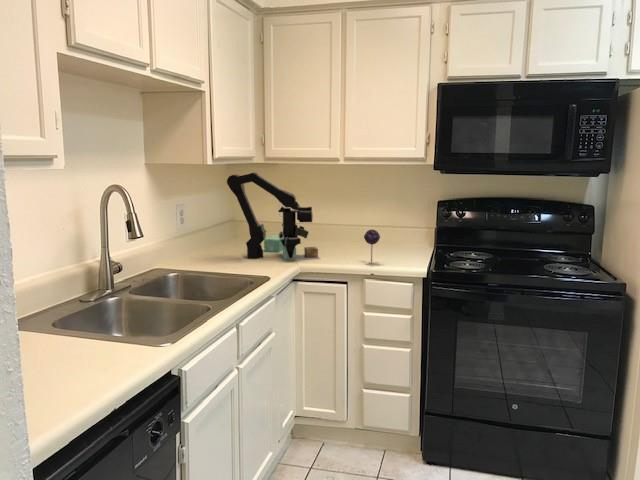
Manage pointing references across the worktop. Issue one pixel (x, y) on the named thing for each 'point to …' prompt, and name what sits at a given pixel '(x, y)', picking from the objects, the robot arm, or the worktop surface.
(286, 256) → the teal block
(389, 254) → the worktop surface
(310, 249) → the walnut base
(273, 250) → the box
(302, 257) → the board
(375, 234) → the lollipop
